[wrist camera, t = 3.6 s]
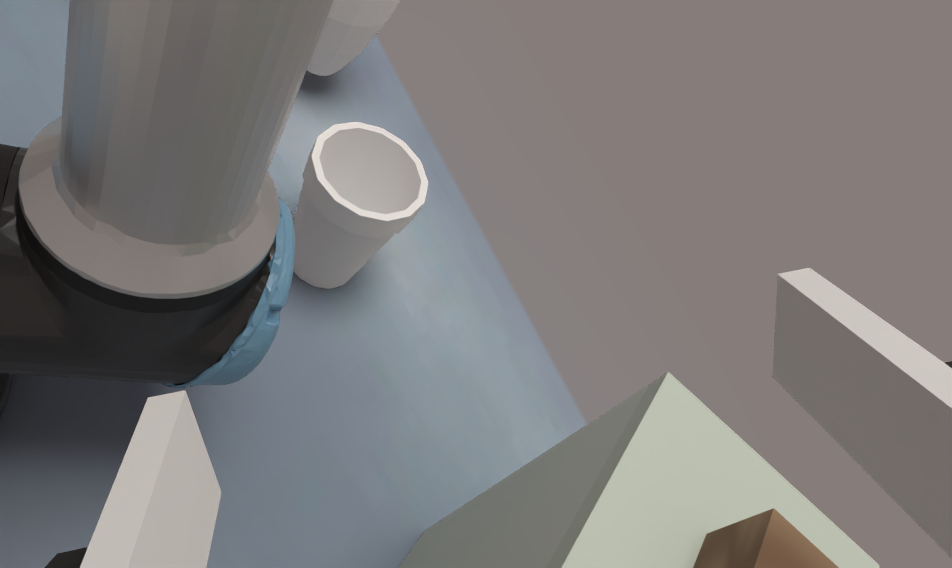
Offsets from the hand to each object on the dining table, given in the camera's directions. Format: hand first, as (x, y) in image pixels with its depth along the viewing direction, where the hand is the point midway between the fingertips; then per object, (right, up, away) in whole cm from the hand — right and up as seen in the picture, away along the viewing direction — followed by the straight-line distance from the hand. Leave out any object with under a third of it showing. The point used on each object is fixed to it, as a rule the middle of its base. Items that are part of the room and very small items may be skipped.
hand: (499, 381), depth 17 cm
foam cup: (-14, +4, +52) cm, 54 cm away
